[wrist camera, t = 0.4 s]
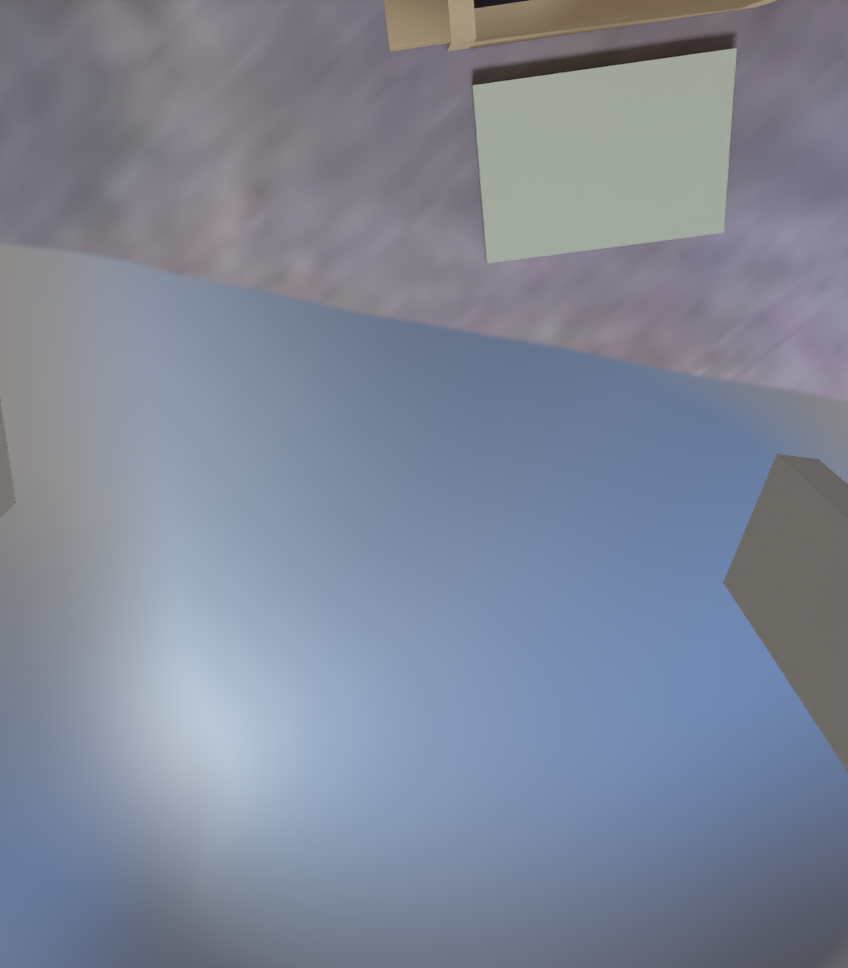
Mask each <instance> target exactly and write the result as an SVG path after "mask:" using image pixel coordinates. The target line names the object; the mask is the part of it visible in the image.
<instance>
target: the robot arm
mask: <svg viewBox="0 0 848 968" xmlns="http://www.w3.org/2000/svg"><path fill="white" fill-rule="evenodd" d="M15 503H16V501H15V495H14V488H13V481H12V474H11V468H10V461H9V454H8V447H7V441H6V434H5V427H4V420H3V414H2V407H1V400H0V518H1V517H2V516H3V515H4V514H5V513H6V512H7V511H8V510H9V509H10V508H11V507H12V506H13V505H14V504H15ZM723 583H724V584H725V586H726V587H727V589H728V591H729V592H730V594H731V595H732V597H733V598H734V600H735V601H736V603H737V604H738V606H739V607H740V609H741V610H742V612H743V613H744V615H745V616H746V618H747V619H748V621H749V623H750V624H751V626H752V627H753V629H754V630H755V632H756V633H757V635H758V636H759V638H760V639H761V641H762V642H763V644H764V645H765V647H766V648H767V650H768V651H769V653H770V654H771V656H772V658H773V659H774V661H775V662H776V664H777V665H778V667H779V668H780V670H781V671H782V673H783V674H784V676H785V677H786V679H787V680H788V682H789V683H790V685H791V686H792V688H793V689H794V691H795V692H796V694H797V696H798V697H799V698H800V700H801V702H802V703H803V705H804V706H805V708H806V709H807V711H808V712H809V714H810V715H811V717H812V718H813V720H814V721H815V723H816V724H817V726H818V727H819V729H820V731H821V732H822V733H823V735H824V737H825V738H826V740H827V741H828V743H829V744H830V746H831V747H832V749H833V750H834V752H835V753H836V755H837V756H838V758H839V759H840V761H841V762H842V764H843V765H844V767H845V769H846V770H847V772H848V484H847V483H846V482H844V481H843V480H842V479H841V478H840V477H839V476H837V475H836V474H835V473H834V472H833V471H832V470H830V469H829V468H828V467H827V466H826V465H825V464H823V463H822V462H821V461H820V460H819V459H811V458H803V457H796V456H788V455H780V454H777V455H776V458H775V460H774V462H773V465H772V467H771V470H770V472H769V474H768V477H767V479H766V481H765V484H764V486H763V489H762V491H761V493H760V496H759V498H758V501H757V503H756V506H755V508H754V510H753V513H752V515H751V517H750V520H749V522H748V525H747V527H746V529H745V532H744V534H743V537H742V539H741V541H740V544H739V546H738V549H737V551H736V553H735V556H734V558H733V560H732V563H731V566H730V568H729V570H728V573H727V575H726V577H725V580H724V582H723Z"/></svg>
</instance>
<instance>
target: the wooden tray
mask: <svg viewBox="0 0 848 968" xmlns="http://www.w3.org/2000/svg"><path fill="white" fill-rule="evenodd" d="M774 1H777V0H529V1H523V2H516V3H509V4H502V5H495V6H488V7H482V8H475V9H474V0H384V6H385V14H386V22H387V30H388V38H389V46H390V51H396V50H403V49H410V48H417V47H424V46H431V45H438V44H445V43H446V45H447V52H449V51H456V50H463V49H470V48H477V47H484V46H491V45H498V44H504V43H511V42H518V41H525V40H532V39H539V38H546V37H553V36H560V35H567V34H574V33H581V32H588V31H595V30H602V29H609V28H616V27H623V26H630V25H637V24H643V23H650V22H657V21H664V20H671V19H678V18H685V17H692V16H699V15H706V14H713V13H720V12H727V11H734V10H741V9H748V8H755V7H759V6H762V5H765V4H768V3H771V2H774Z"/></svg>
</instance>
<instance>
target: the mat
mask: <svg viewBox="0 0 848 968" xmlns="http://www.w3.org/2000/svg"><path fill="white" fill-rule="evenodd" d="M736 51H737V48H733V49H726V50H719V51H712V52H705V53H698V54H691V55H684V56H677V57H670V58H663V59H656V60H649V61H641V62H634V63H627V64H620V65H613V66H606V67H599V68H592V69H585V70H578V71H571V72H564V73H557V74H549V75H542V76H535V77H528V78H521V79H514V80H507V81H500V82H493V83H486V84H479V85H473V86H472V94H473V107H474V119H475V131H476V144H477V156H478V169H479V181H480V194H481V206H482V219H483V231H484V243H485V256H486V262H487V263H493V262H501V261H509V260H516V259H524V258H532V257H540V256H547V255H555V254H563V253H571V252H578V251H586V250H594V249H601V248H609V247H617V246H625V245H632V244H640V243H648V242H656V241H663V240H671V239H679V238H687V237H694V236H702V235H710V234H717V233H724V223H725V209H726V194H727V180H728V166H729V151H730V137H731V123H732V108H733V94H734V79H735V65H736Z"/></svg>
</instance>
